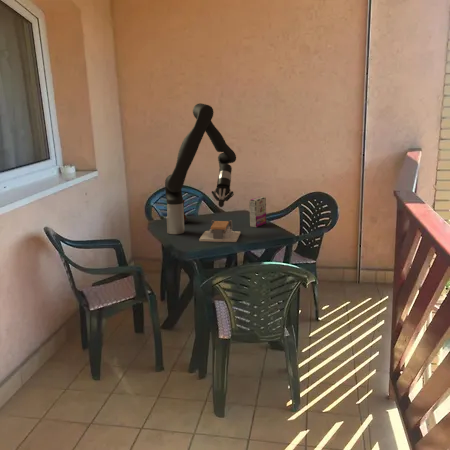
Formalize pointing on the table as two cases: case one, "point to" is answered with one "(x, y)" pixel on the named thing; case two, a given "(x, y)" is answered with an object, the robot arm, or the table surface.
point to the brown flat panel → (220, 225)
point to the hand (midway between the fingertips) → (220, 206)
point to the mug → (184, 214)
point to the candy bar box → (257, 211)
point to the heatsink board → (225, 236)
